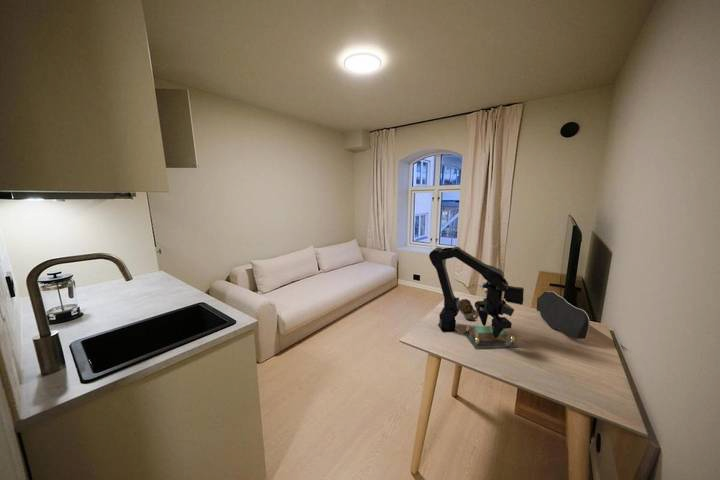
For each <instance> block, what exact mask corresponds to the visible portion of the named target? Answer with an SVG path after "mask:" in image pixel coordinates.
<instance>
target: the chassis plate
mask: <svg viewBox="0 0 720 480" xmlns="http://www.w3.org/2000/svg"><path fill="white" fill-rule="evenodd" d="M470 329H471V326H470V325H466V326H465V330H463V332H462V333H463V335H464V336H465V337H466V339H467V340H468V341H469V342H470V344H471V346H473V348H474V349H475V350H477V349H478V350H482V349H483V350H484V349H507V348H508V349H510V348H512V349H513V348H514V349H515V348H517V346H518V345H517V344H516V336H514V335H510V337H509V336H508V335H507V336H506V341H479V340H480V338H479V337H474V335H473V329H471V330H470Z"/></svg>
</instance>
